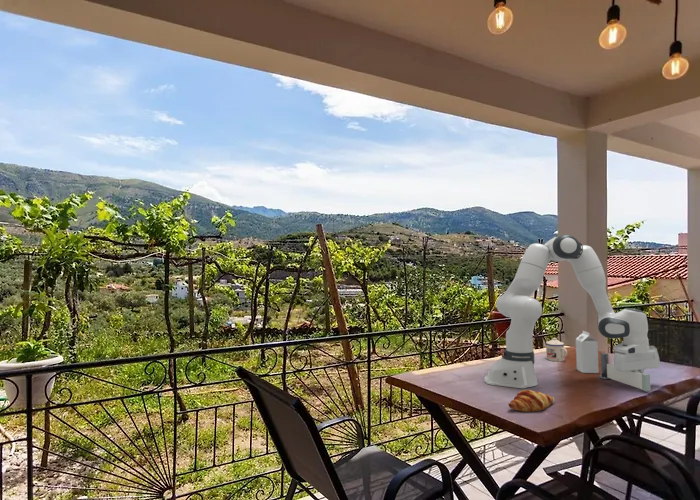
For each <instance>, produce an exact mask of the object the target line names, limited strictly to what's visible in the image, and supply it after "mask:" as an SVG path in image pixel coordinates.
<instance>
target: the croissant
mask: <svg viewBox="0 0 700 500" xmlns="http://www.w3.org/2000/svg"><path fill="white" fill-rule="evenodd" d="M554 402H555V397H554V396H550V395H549V394H547V393H542V392H541V391H538V390H537V391H534V390H532V389H523V390H521V391H519V392H517V393H516V396H514V398H513V399H512V400H510V402H508V407H509V408H510V409H511V410H514V411H519V412H525V413H526V412H531V411H534V412H538V411H543V410H545V409H546V408H548V407H550V405H552V404H554Z"/></svg>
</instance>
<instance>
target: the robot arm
mask: <svg viewBox="0 0 700 500" xmlns="http://www.w3.org/2000/svg"><path fill="white" fill-rule="evenodd" d="M520 260H521V261H520V262H519V265H518V268H517V271H516V273H515V276H514V278H513V280H512V282H511V283H510V285H509V286H508V287H507V289H506V290H505V292H504V293H503V294H502V295H500V296H499V297H498V298H497V300H496V303H495V304H496V305H495V306H496V309H497V311H498V312H499V313H500V314H501V315H503V316H504V317H506V318H510V319H511V321H510V325H509V328H508V330H506V333H505V349H504V348H501V349H500V354H501V358H500V359H498V360H497V361H495V362H494V363H492V364H491V366H490V368H489V370H488V374H485V376H484V378H483V379H484V380H483V381H484V383H485V382H486V383H485V384H487V385H490V386H499V387H508V388H515V389H526V388H531V387H536V386H538V385H539V382H538V379H537V375H536V369H535V362H536V361H535V359H536V358H535V351H534V343H533V341H534V339H533V335H534V328H535V325H536V322H537V320H538V319H539V318H540V317H541V316H542V313H543V307H542V304H541V302H540V301H539V300H537V299H536V298H534V297H532V294H534V293H535V291H538V289H539V288H540V287H541V284H542V281H543V279H544V276H545V273H546V270H547V268H548V265H549V264H550V262H552V263H557V262H562V261H566V262H568V263H570V265H571V266H572V269H573V271H574V274H575V277H576V279H577V281H578V283H579V284H580V286H581V287H582V289H583V290H585V291H586V292H587V293H588V294H589V295H590V297H591V299H592V302H593V305H594V307H595V310H596V312H597V329H598V331H599V333H600V334H601V335H602V336H603V337H605V338H607V339H611V340H612V339H613V340H614V339H619V338H621V339H622V338H623V341H622V342H620V343H618V344H616V345H614V346H613V352H614V353H613V354H614V355H613V365H614V368H615V369H616V370H618V371H622V372H623V371H635V372H639V373H642V374H645V370H651V369H652V370H653V369H659V367H660V365H661V363H660V362H661V361H660V356H659V352H658V348H657V347H656V346H655V345H650V343H649V338H648V332H649V323H648V318H647V314H646V313H645V312H644V311H643V310H641V309H637V308H632V307H631V308H630V307H625V308H624V309H622V310H620V311H618V312H616V311H615V310H614V309H613V305H612V304H611V302H610V299H609V296H608V293H607V289H606V288H607V286H606V284H607V279H606V273H605V271H604V267H603V265H602V262H601V261H600V258H599V256H598V255H597V253H596V251H595V250H594V248H593V247H592V246H590V245H585V244H584V245H583V244H582V243H581V242H580V241H579V240H578V239H577V238H576V237H575V236H573V235H571V234H560V235H558V236H555V237H552V238H551V239H549V240H547V241H546V242H544V243H543V244H542V243H535V242H534V243H531V244H530V245H529V246H528V247H527V248H526V249H525V252H524V254H523V256H522V258H521V259H520Z"/></svg>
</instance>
